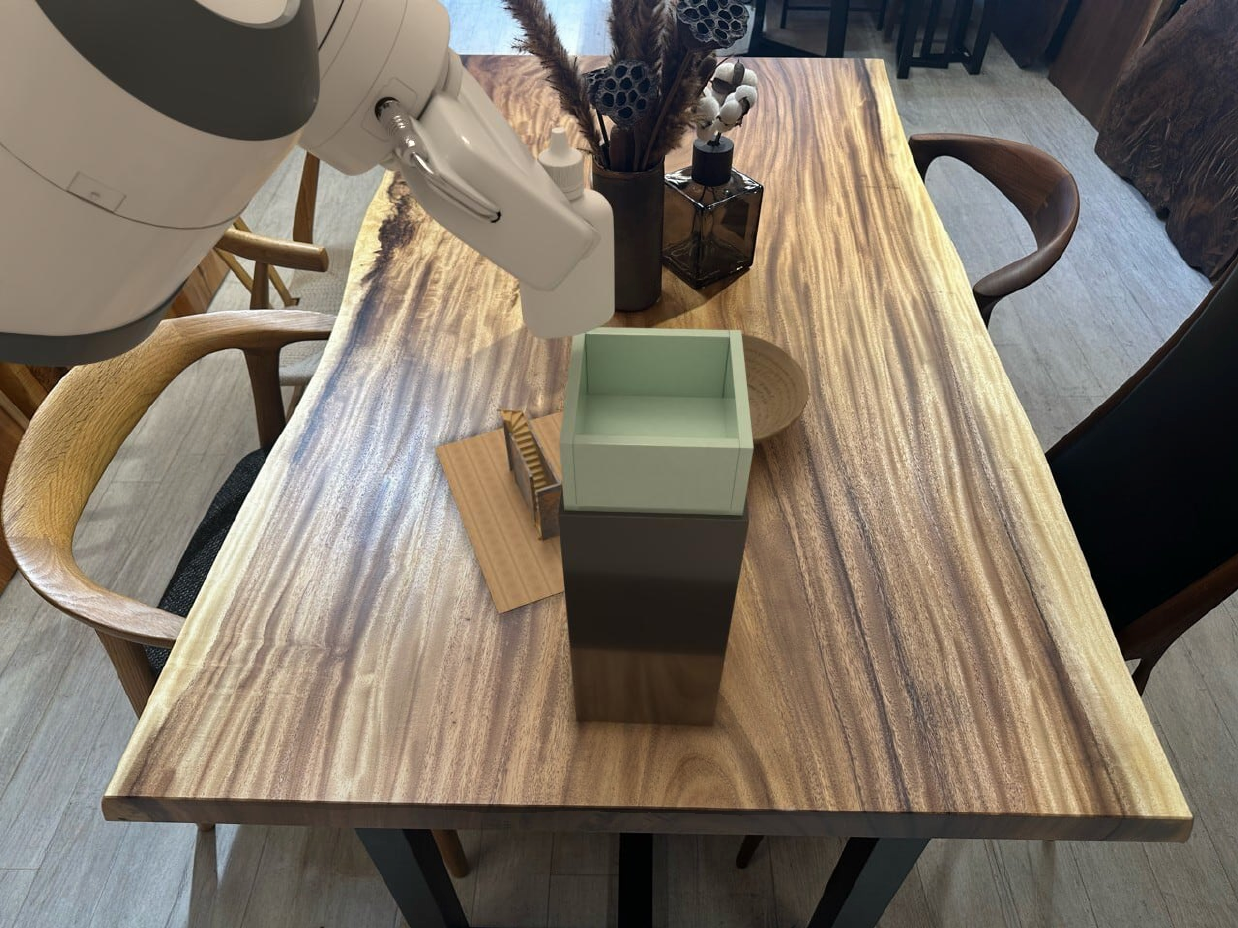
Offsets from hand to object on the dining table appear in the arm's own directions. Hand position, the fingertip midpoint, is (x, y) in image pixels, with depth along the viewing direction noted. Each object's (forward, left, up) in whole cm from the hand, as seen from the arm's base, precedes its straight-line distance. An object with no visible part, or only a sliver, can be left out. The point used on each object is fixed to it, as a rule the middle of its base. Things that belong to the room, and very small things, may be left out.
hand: (573, 223), depth 46 cm
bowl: (+24, +20, -43) cm, 54 cm away
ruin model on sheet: (0, +18, -43) cm, 47 cm away
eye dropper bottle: (-1, 0, -7) cm, 7 cm away
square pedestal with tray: (+3, -5, -43) cm, 44 cm away
